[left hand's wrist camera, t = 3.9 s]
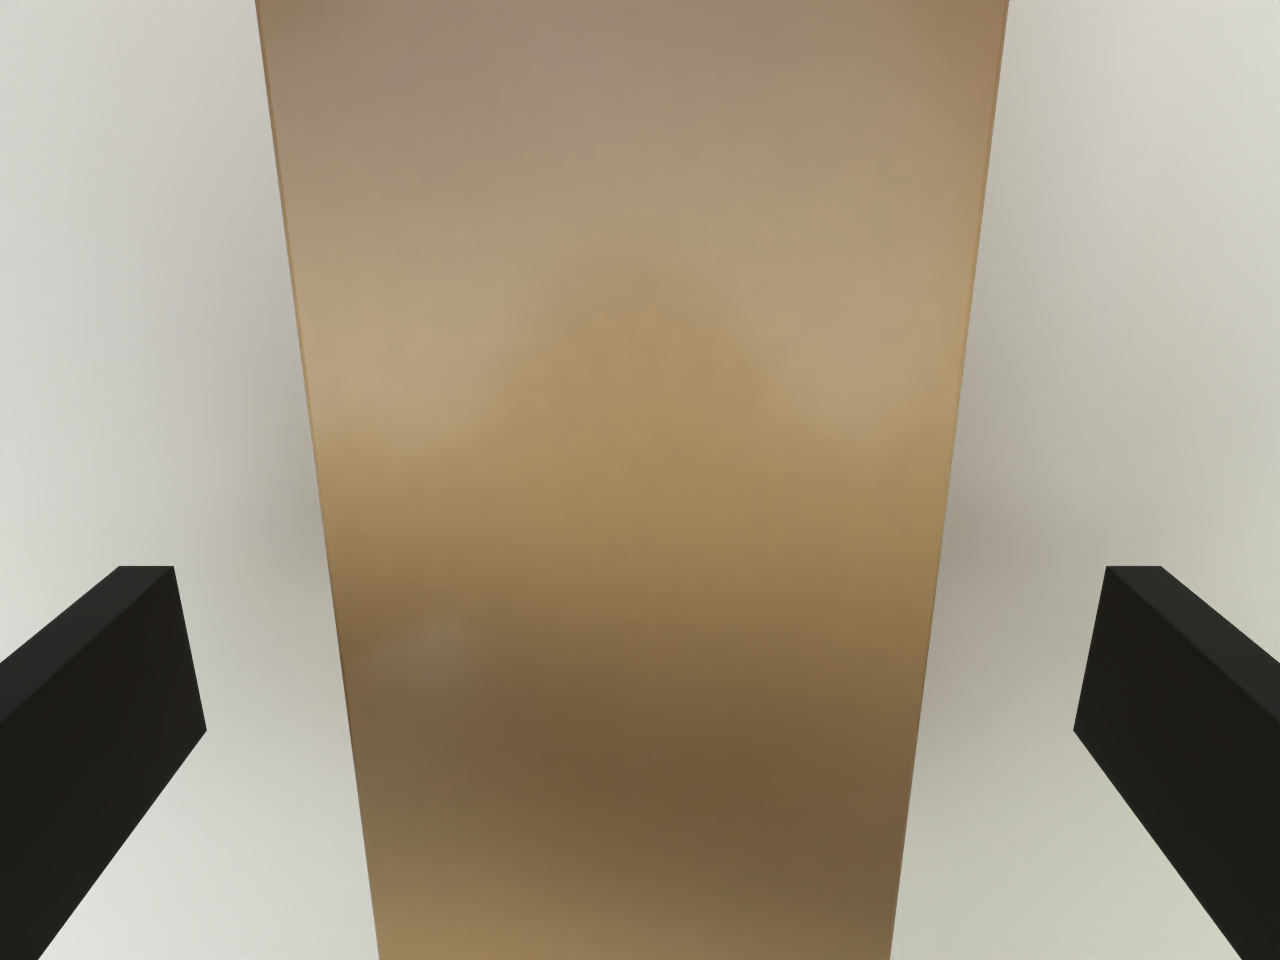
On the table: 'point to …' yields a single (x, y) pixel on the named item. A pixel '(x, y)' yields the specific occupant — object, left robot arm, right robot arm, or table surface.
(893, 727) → the beam
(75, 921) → the table surface
